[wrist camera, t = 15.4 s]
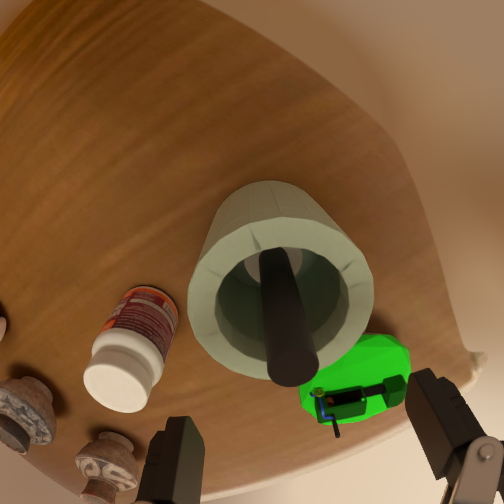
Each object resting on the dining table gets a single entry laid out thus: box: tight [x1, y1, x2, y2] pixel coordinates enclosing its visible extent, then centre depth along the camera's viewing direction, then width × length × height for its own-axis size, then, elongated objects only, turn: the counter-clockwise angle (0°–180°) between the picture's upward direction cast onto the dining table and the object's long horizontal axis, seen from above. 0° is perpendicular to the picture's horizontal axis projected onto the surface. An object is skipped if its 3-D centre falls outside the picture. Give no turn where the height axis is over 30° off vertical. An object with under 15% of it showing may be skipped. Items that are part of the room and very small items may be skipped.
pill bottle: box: [84, 286, 178, 413], centre depth 25 cm, size 6×6×11 cm
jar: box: [187, 180, 374, 380], centre depth 23 cm, size 10×10×12 cm
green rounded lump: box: [299, 332, 412, 438], centre depth 28 cm, size 12×12×11 cm
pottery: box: [0, 376, 139, 504], centre depth 32 cm, size 11×25×12 cm, turn 50°
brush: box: [244, 247, 319, 387], centre depth 20 cm, size 4×4×16 cm
